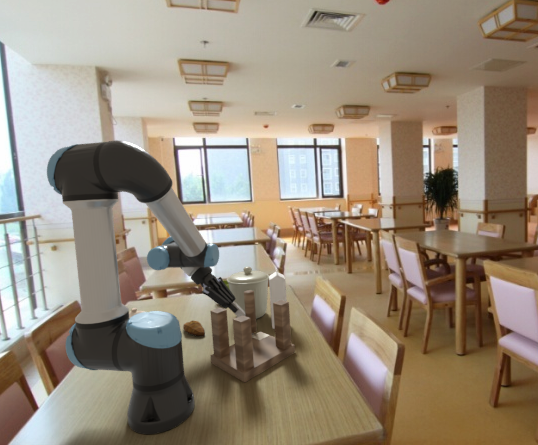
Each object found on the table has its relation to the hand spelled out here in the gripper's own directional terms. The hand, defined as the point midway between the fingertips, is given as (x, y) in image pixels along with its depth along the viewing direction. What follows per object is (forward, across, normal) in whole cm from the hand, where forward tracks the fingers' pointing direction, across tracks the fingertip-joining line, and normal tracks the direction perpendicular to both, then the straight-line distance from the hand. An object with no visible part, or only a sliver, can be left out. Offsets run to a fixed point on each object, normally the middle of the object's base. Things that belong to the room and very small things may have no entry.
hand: (244, 317), depth 111 cm
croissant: (-9, -3, -22) cm, 24 cm away
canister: (+3, -22, -10) cm, 24 cm away
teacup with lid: (-22, +4, -35) cm, 41 cm away
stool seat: (+10, +12, 0) cm, 16 cm away
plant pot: (-10, -40, -24) cm, 48 cm away
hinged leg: (+5, +5, -2) cm, 7 cm away
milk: (+13, -13, +1) cm, 18 cm away
